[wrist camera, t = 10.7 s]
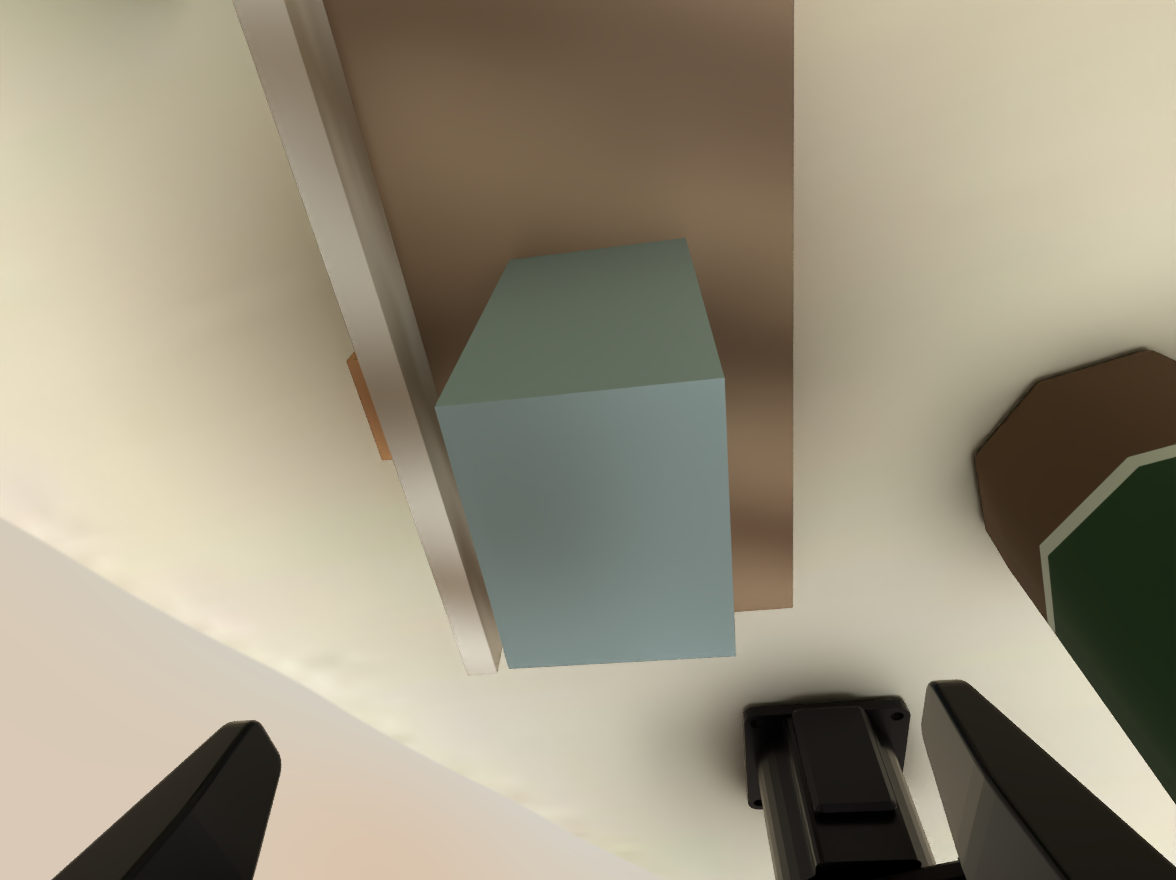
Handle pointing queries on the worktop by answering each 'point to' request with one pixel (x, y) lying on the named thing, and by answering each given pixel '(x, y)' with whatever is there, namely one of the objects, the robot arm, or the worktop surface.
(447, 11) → the shelf board
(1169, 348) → the worktop surface
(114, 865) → the robot arm
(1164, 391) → the beer bottle
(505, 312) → the product carton
